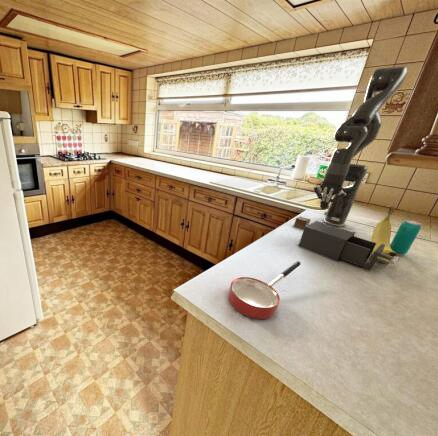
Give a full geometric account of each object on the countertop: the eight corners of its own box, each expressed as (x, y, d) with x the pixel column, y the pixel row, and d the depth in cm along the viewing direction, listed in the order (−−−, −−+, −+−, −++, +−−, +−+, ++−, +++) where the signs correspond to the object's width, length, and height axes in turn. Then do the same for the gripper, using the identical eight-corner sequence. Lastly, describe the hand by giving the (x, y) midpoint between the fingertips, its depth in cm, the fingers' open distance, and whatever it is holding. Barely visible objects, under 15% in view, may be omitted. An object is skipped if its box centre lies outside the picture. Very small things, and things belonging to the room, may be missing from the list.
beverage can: (397, 250, 105) (414, 220, 99) (409, 257, 100) (427, 225, 94) (383, 249, 106) (399, 218, 100) (394, 255, 100) (411, 224, 95)
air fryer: (346, 252, 101) (355, 232, 97) (337, 261, 94) (346, 240, 90) (309, 239, 111) (316, 220, 108) (298, 245, 104) (304, 226, 100)
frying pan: (268, 264, 89) (272, 250, 86) (306, 282, 79) (312, 266, 77) (219, 299, 69) (223, 282, 67) (262, 328, 60) (268, 309, 58)
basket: (393, 267, 89) (402, 250, 86) (386, 277, 83) (396, 259, 80) (336, 247, 103) (343, 231, 100) (327, 254, 96) (334, 238, 93)
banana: (396, 272, 88) (423, 224, 80) (376, 267, 91) (400, 220, 83) (379, 248, 106) (400, 207, 98) (363, 244, 109) (382, 204, 101)
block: (297, 224, 128) (300, 216, 126) (307, 228, 124) (310, 219, 122) (293, 226, 125) (296, 218, 123) (303, 230, 121) (306, 221, 119)
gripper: (357, 175, 102) (342, 212, 108) (323, 169, 112) (311, 203, 118) (351, 176, 98) (336, 214, 104) (316, 170, 108) (304, 205, 114)
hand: (323, 208), depth 111 cm, fingers closed
